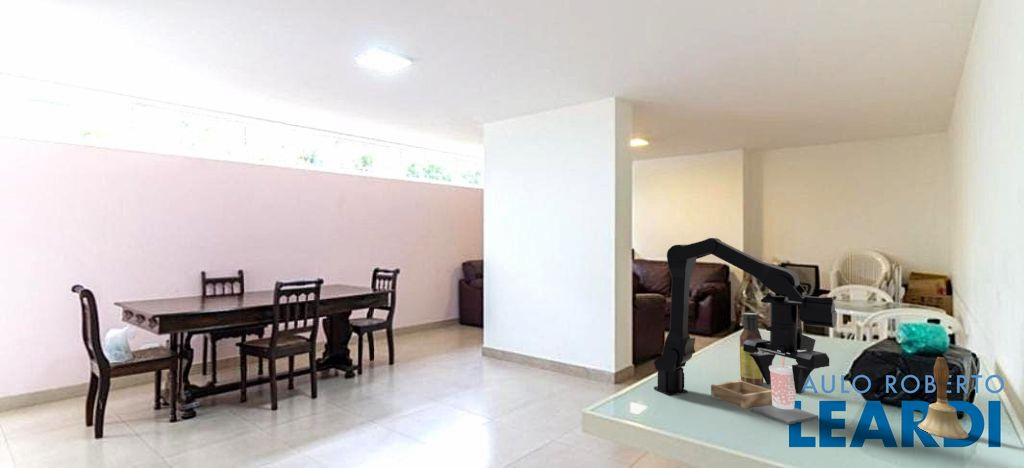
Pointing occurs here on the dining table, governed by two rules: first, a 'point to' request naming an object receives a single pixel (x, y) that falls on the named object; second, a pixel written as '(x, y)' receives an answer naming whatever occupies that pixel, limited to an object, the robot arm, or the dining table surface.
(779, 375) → the beverage cup
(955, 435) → the hand bell
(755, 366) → the sauce bottle
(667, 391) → the robot arm
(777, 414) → the coaster
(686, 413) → the dining table surface
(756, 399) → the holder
